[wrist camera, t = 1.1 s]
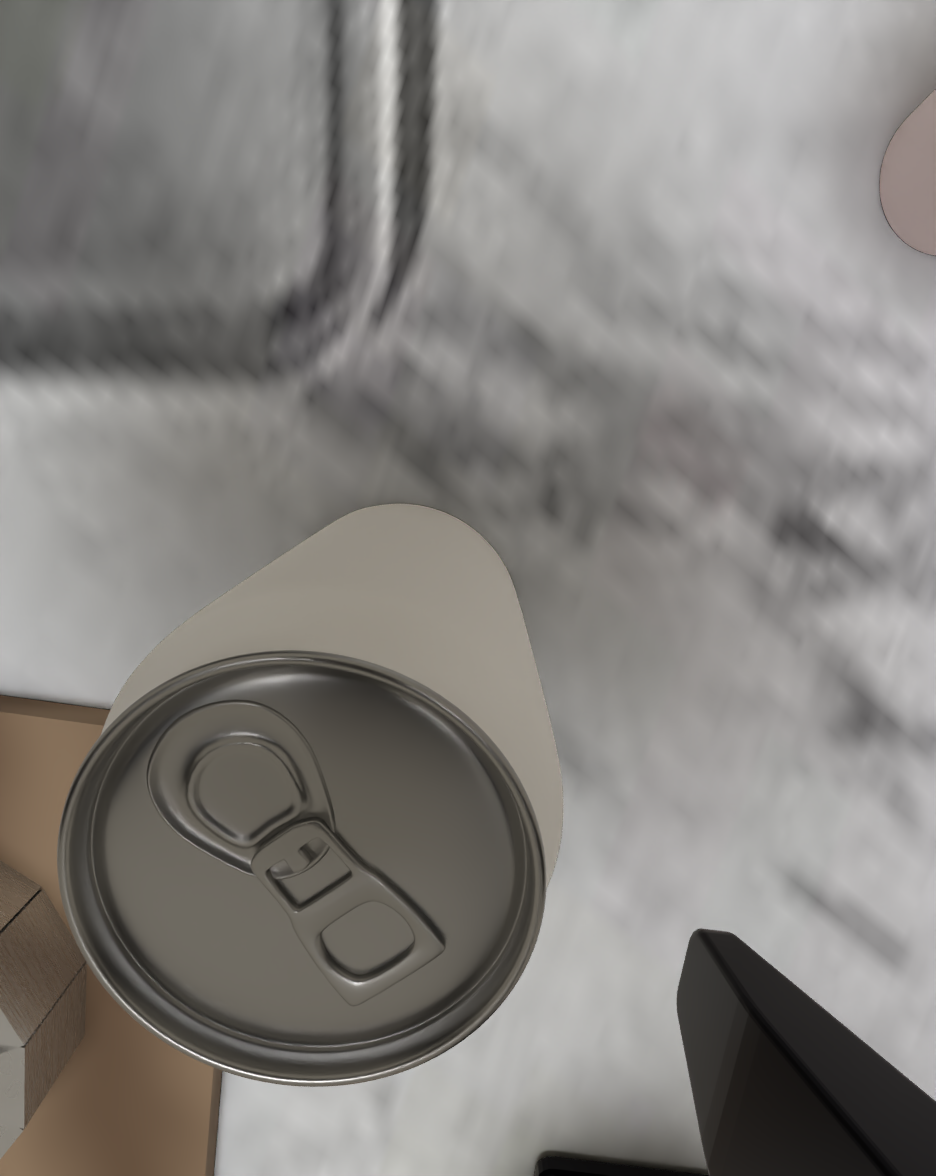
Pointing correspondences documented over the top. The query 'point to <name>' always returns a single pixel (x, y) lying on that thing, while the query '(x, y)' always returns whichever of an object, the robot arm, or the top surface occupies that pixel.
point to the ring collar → (34, 1000)
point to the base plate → (93, 994)
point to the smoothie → (912, 178)
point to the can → (323, 810)
